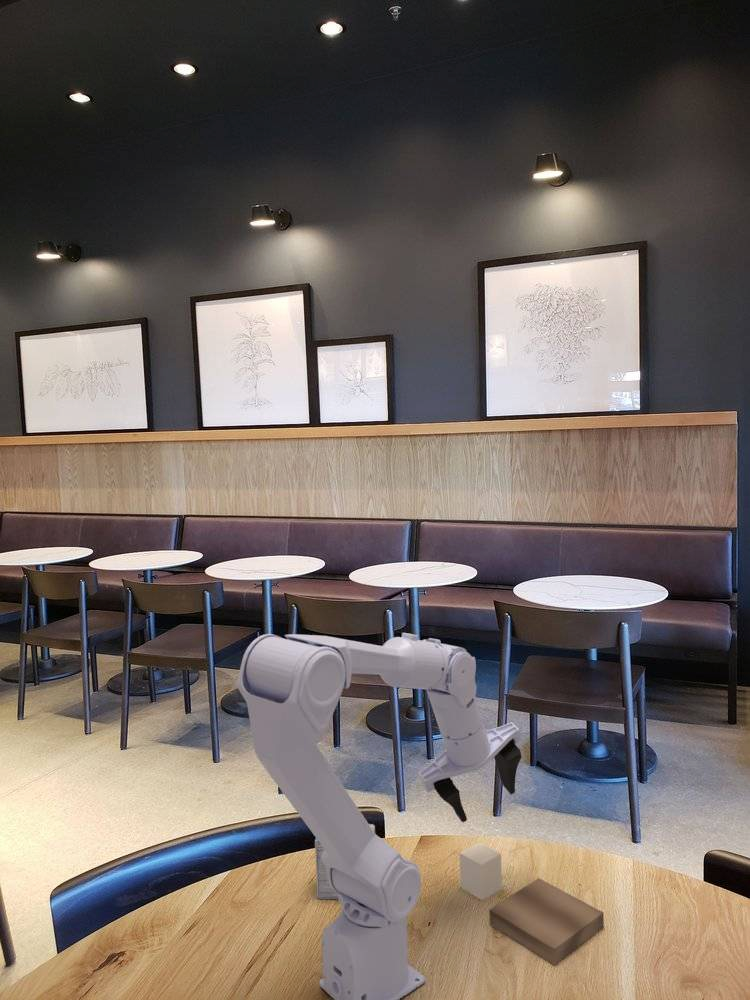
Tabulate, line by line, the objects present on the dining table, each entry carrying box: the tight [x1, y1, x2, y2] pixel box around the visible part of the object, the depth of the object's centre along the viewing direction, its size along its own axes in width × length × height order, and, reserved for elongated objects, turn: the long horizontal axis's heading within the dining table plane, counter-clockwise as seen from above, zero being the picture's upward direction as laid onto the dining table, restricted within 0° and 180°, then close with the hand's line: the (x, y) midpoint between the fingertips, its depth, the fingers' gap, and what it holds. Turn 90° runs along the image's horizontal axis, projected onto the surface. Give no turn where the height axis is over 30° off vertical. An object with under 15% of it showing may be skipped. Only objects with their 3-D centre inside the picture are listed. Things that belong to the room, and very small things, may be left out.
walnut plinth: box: [489, 877, 605, 966], centre depth 93 cm, size 10×10×2 cm
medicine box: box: [314, 823, 376, 900], centre depth 101 cm, size 8×4×9 cm, turn 84°
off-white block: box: [459, 842, 503, 902], centre depth 101 cm, size 4×4×5 cm
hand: (485, 803), depth 100 cm, fingers open, 7 cm apart
